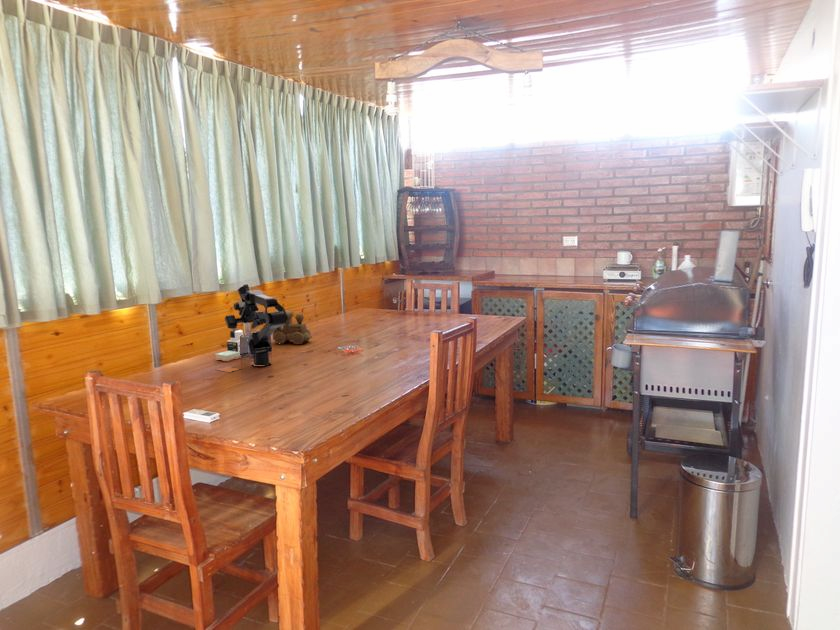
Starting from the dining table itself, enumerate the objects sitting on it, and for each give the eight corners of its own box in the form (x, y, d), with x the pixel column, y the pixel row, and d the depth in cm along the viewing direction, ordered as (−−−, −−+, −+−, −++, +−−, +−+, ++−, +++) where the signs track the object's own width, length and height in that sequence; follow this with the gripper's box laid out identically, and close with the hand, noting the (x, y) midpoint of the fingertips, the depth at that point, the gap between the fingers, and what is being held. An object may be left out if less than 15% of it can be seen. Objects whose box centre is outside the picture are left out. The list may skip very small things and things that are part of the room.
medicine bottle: (227, 354, 293) (225, 331, 291) (238, 351, 299) (236, 328, 297) (238, 356, 289) (236, 332, 287) (248, 352, 296) (246, 329, 294)
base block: (240, 358, 285) (239, 352, 284) (227, 361, 278) (226, 355, 278) (229, 356, 289) (228, 350, 288) (215, 360, 282) (215, 353, 282)
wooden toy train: (269, 344, 313) (267, 313, 311) (279, 340, 324) (277, 310, 321) (304, 345, 309) (303, 314, 306) (313, 341, 320) (311, 310, 317)
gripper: (262, 294, 283) (255, 314, 294) (224, 298, 272) (218, 319, 283) (270, 312, 278) (263, 332, 289) (231, 317, 267) (225, 337, 278)
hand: (242, 329), depth 285 cm, fingers open, 9 cm apart
